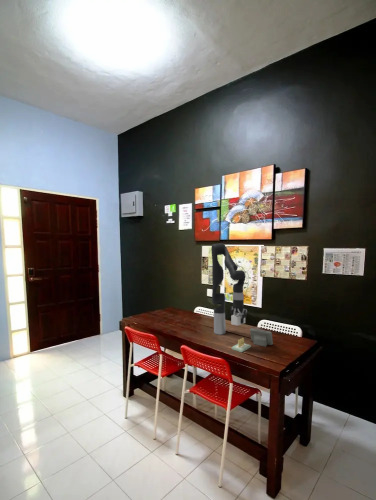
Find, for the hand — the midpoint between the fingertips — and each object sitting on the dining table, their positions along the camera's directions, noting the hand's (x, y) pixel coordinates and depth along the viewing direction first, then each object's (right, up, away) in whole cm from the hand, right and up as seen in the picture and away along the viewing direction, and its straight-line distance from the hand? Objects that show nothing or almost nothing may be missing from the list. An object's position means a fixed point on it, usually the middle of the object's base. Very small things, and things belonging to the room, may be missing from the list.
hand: (238, 322), depth 170 cm
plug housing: (0, -1, 0) cm, 1 cm away
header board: (+2, -18, 0) cm, 18 cm away
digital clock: (+19, -18, +8) cm, 27 cm away
